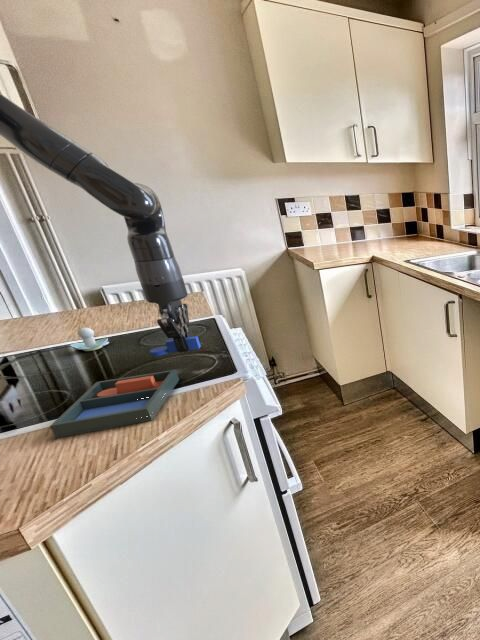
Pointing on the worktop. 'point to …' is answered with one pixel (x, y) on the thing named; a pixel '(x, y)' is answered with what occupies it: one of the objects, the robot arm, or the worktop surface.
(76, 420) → the sorting tray
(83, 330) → the pacifier
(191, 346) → the blue spoon
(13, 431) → the worktop surface
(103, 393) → the red long piece
